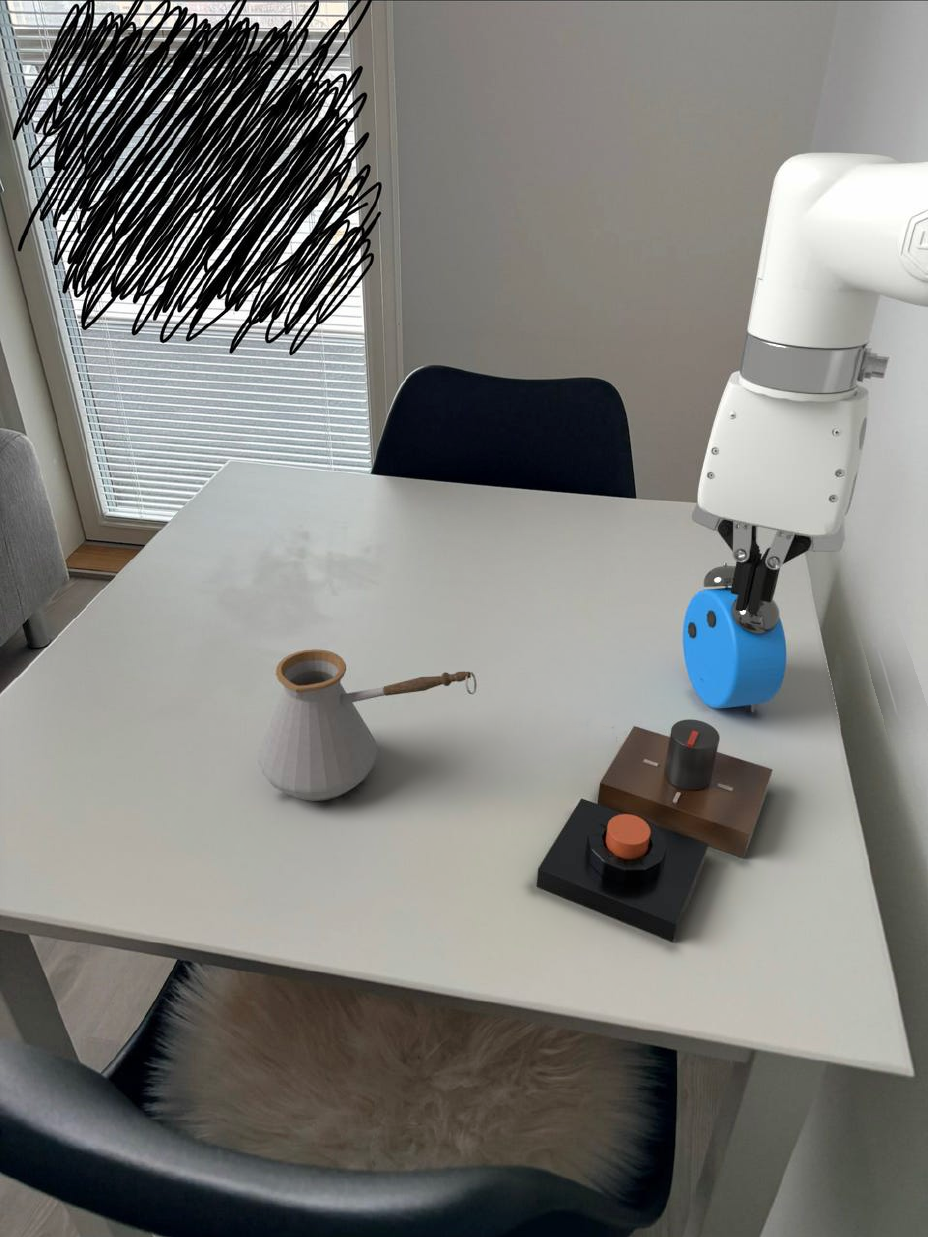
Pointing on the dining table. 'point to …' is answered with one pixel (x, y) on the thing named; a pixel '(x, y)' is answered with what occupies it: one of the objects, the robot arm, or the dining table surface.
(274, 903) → the dining table surface
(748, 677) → the alarm clock
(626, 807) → the dial panel
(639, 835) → the push knob
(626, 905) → the black button base
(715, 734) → the dial
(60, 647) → the dining table surface
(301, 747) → the coffee pot
